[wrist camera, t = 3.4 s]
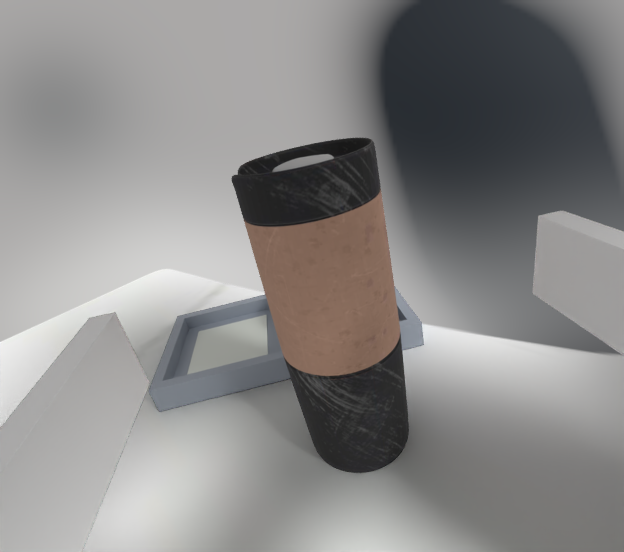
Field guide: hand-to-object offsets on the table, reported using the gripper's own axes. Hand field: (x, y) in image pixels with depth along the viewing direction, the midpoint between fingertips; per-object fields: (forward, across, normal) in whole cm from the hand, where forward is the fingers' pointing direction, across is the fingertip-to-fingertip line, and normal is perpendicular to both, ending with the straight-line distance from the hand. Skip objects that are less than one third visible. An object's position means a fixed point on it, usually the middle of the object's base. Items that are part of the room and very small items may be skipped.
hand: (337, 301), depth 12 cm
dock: (+24, -4, -17) cm, 29 cm away
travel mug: (+10, +1, -17) cm, 20 cm away
